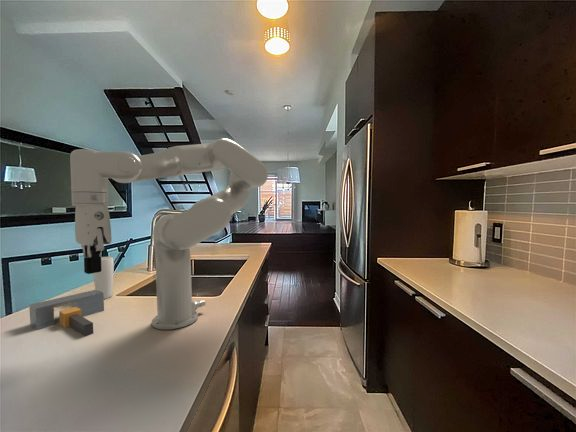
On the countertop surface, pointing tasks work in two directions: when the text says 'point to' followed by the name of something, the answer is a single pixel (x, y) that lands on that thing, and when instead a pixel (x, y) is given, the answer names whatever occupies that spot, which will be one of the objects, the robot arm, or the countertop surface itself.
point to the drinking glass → (105, 277)
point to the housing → (85, 301)
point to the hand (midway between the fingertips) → (93, 272)
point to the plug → (76, 321)
